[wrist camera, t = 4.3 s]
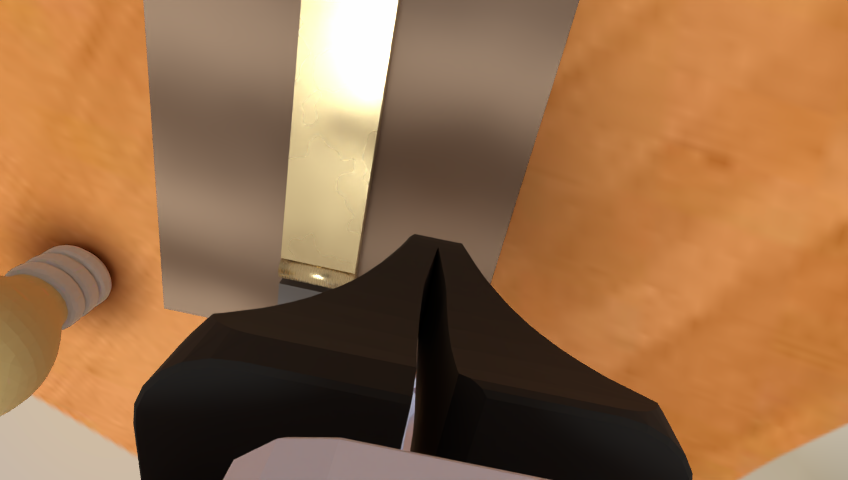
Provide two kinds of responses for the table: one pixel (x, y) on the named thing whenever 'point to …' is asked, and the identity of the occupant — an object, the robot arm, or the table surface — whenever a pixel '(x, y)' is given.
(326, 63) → the hasp
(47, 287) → the light bulb
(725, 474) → the table surface
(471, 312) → the robot arm
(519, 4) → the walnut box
